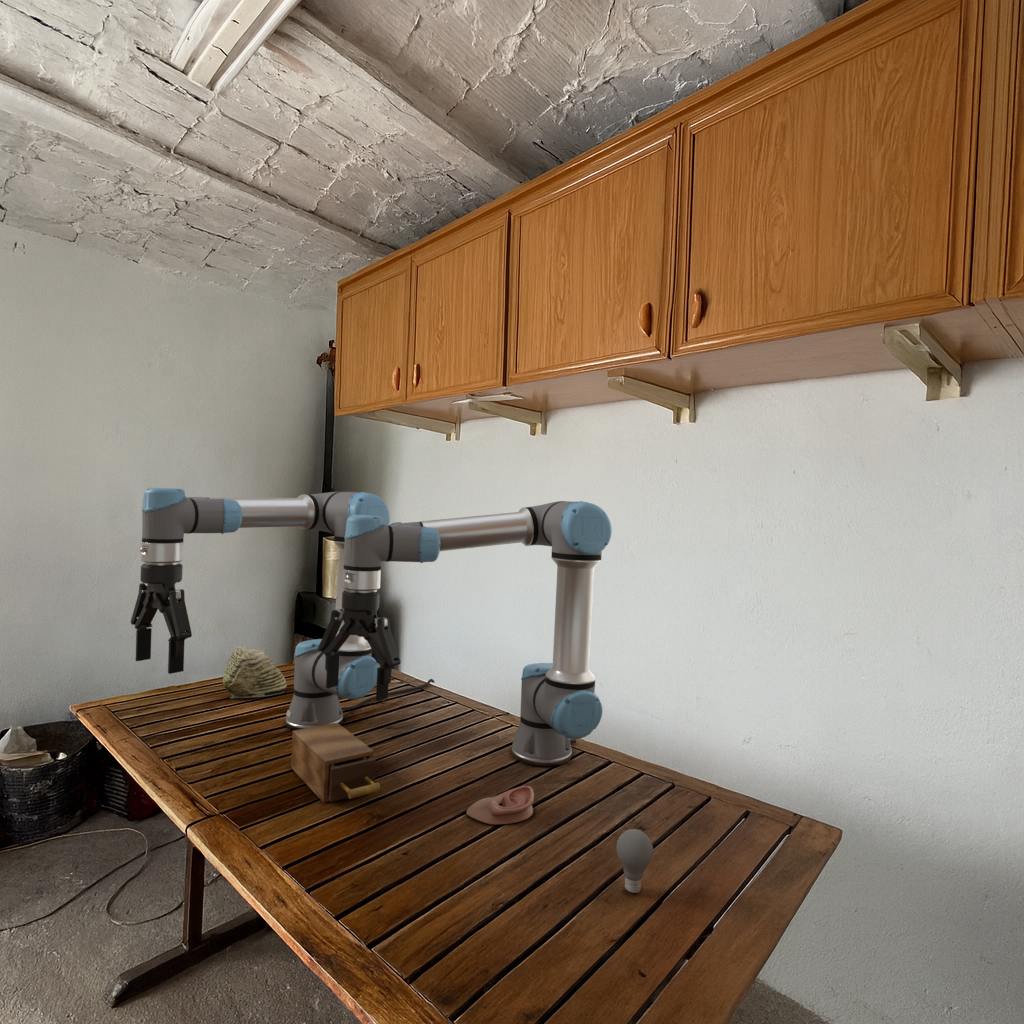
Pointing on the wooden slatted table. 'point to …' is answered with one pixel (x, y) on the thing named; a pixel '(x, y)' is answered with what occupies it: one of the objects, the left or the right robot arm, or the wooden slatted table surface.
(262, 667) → the fossil
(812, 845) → the wooden slatted table surface
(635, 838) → the light bulb
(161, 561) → the left robot arm
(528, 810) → the anatomical model
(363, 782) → the drawer
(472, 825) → the wooden slatted table surface
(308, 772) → the cabinet
